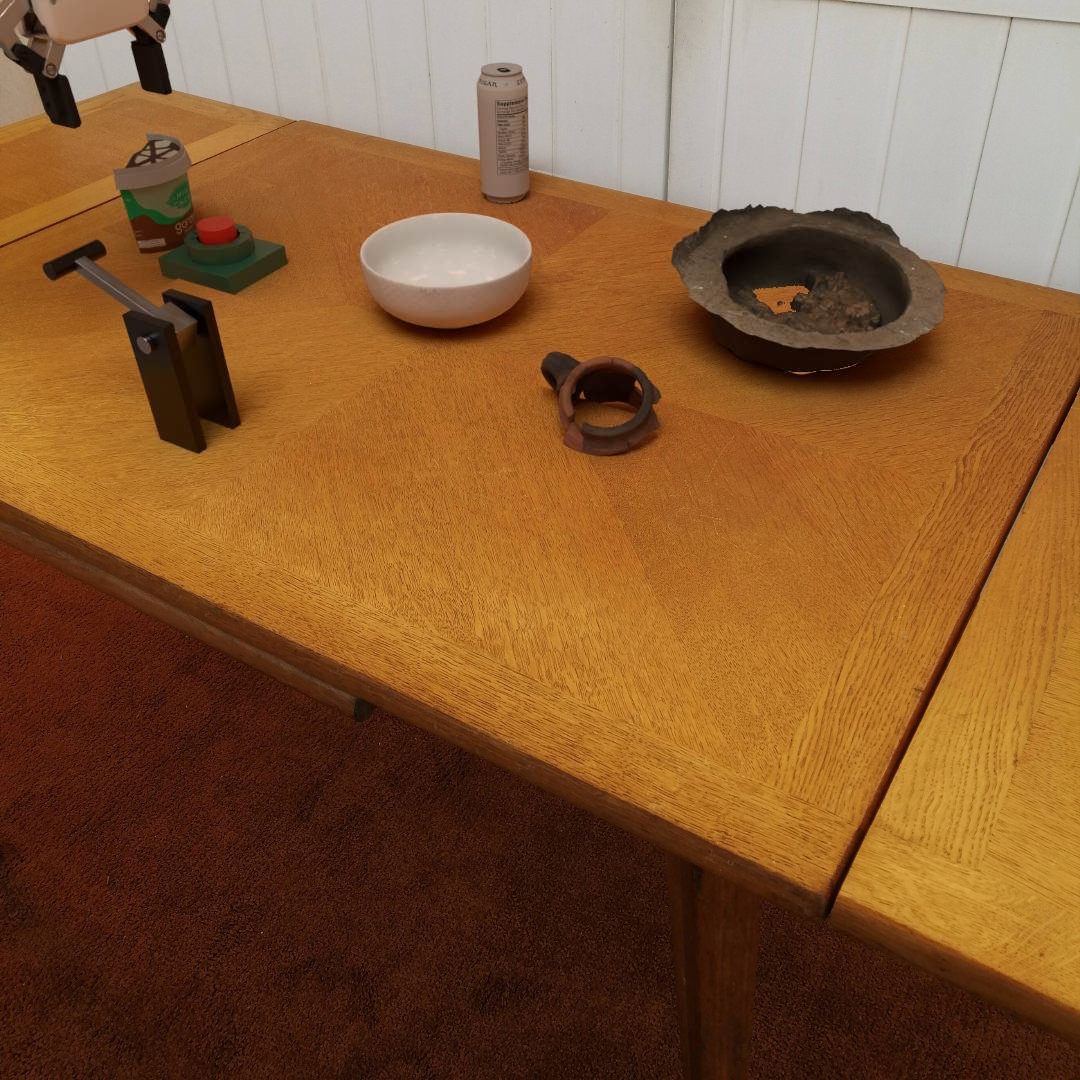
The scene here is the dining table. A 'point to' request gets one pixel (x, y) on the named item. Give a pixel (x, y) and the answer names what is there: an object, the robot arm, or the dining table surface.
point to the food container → (158, 194)
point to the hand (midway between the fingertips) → (113, 108)
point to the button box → (224, 261)
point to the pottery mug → (601, 400)
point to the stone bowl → (808, 285)
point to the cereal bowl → (447, 268)
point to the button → (216, 230)
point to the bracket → (183, 372)
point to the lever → (120, 289)
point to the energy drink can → (503, 132)
